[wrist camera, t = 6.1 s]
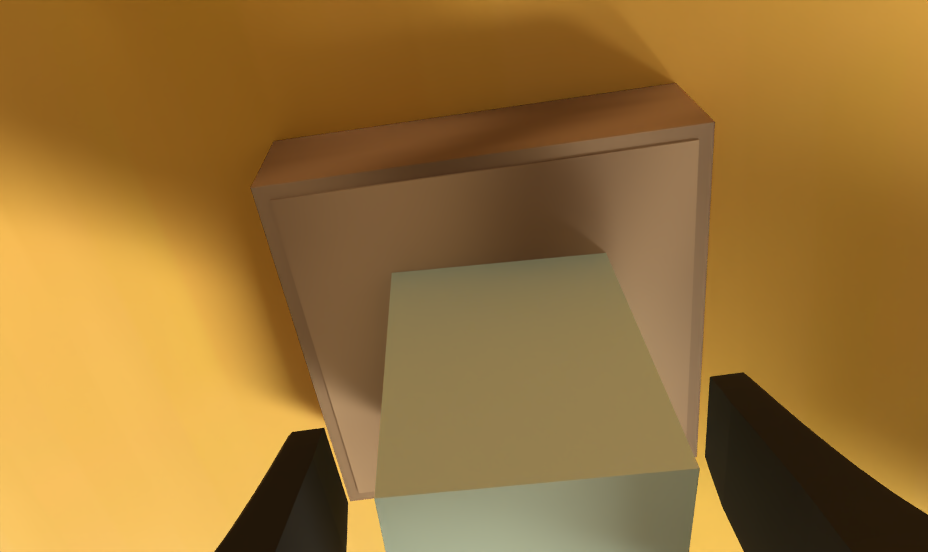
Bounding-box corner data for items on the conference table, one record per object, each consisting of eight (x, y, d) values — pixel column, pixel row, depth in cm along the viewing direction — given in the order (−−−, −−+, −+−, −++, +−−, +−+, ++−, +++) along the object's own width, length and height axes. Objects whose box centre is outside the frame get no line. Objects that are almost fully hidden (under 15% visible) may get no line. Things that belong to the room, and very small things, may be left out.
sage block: (606, 253, 15) (699, 468, 10) (602, 413, 17) (676, 655, 12) (391, 273, 15) (374, 498, 10) (416, 430, 17) (413, 679, 12)
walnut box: (669, 76, 16) (715, 122, 14) (663, 381, 21) (697, 458, 18) (277, 132, 16) (250, 188, 14) (359, 420, 21) (349, 502, 19)
